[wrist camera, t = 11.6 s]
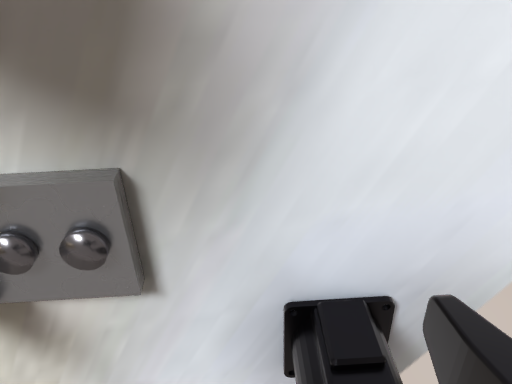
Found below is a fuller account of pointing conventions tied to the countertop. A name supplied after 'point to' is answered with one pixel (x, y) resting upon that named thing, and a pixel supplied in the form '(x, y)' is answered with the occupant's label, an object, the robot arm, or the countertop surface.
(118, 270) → the lower chain end
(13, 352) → the countertop surface
